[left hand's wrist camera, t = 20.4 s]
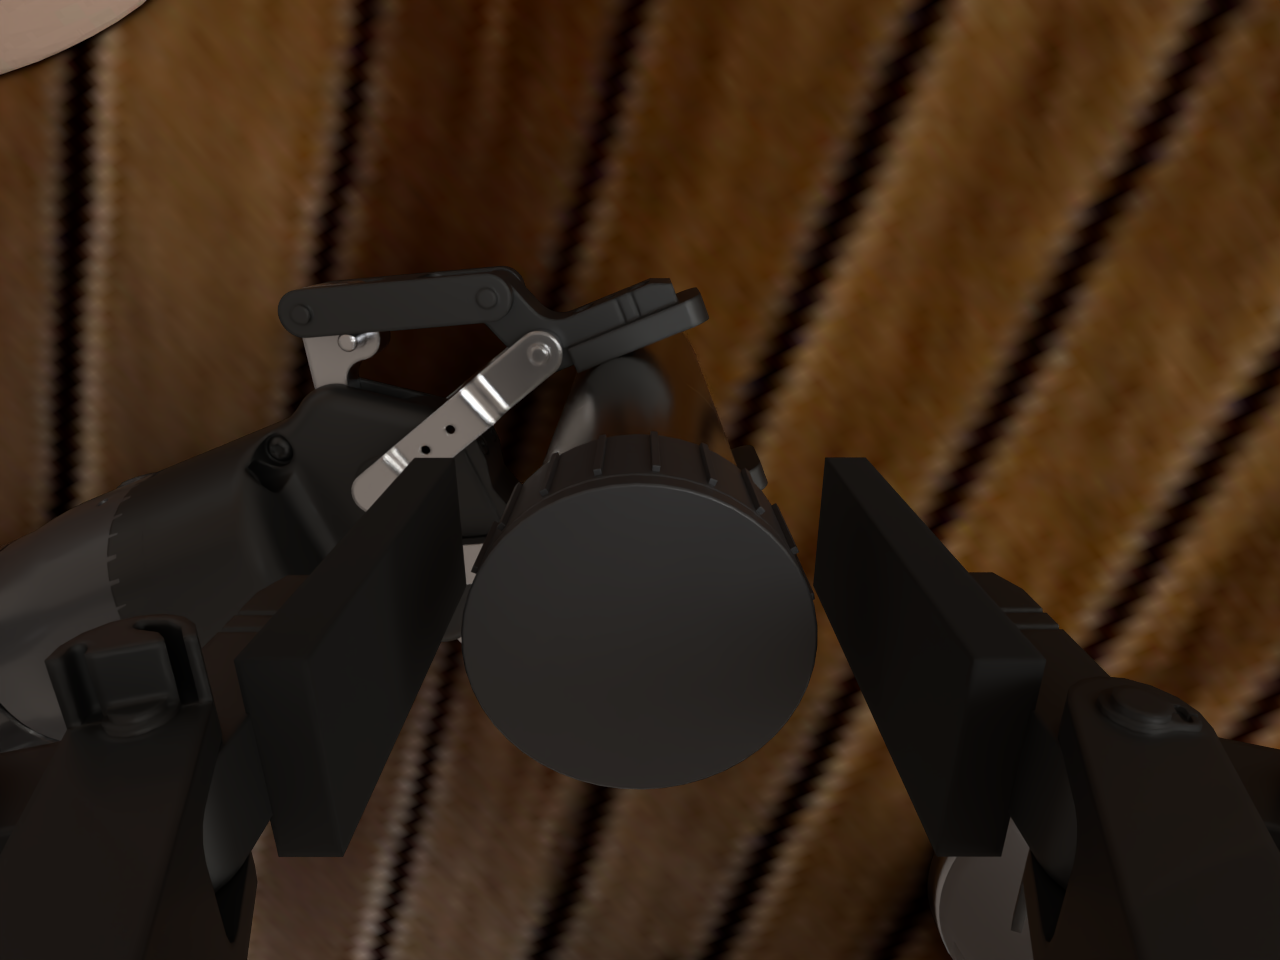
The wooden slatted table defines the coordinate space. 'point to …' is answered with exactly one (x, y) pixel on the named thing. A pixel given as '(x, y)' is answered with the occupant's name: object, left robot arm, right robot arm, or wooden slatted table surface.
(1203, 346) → the wooden slatted table surface
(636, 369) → the dark brown cylindrical piece
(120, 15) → the anatomical model
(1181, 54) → the wooden slatted table surface
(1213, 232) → the wooden slatted table surface
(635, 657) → the lid
